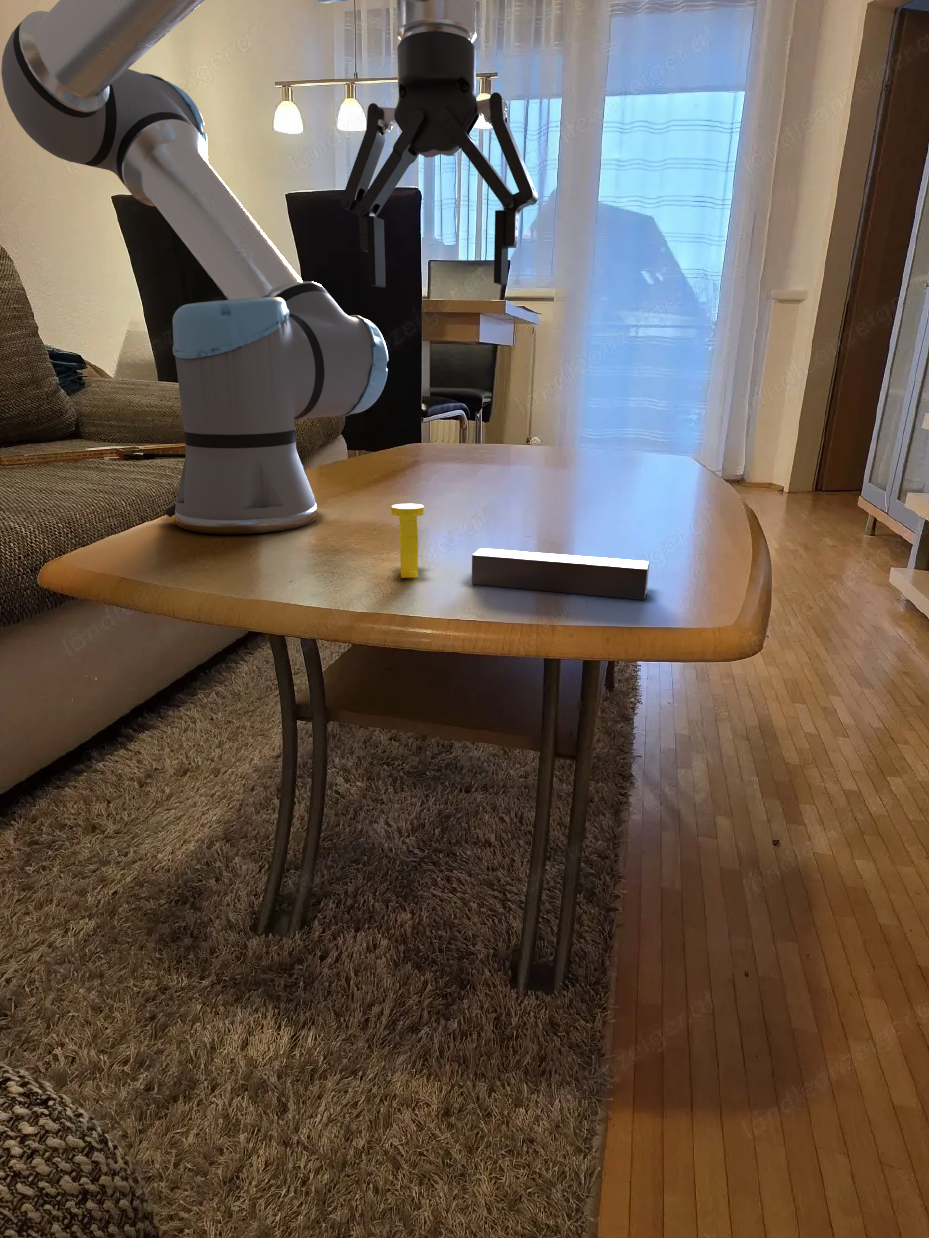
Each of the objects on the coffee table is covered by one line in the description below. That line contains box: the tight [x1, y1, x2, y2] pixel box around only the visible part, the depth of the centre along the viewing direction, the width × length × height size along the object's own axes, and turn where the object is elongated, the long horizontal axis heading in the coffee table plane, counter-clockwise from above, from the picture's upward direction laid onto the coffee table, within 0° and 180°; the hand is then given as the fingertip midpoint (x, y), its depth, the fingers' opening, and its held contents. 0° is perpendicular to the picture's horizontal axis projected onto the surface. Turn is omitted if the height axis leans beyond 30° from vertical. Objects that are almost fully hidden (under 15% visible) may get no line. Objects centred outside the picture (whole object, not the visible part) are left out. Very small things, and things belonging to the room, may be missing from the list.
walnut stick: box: [471, 547, 650, 601], centre depth 61 cm, size 14×2×2 cm, turn 73°
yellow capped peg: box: [390, 503, 425, 579], centre depth 64 cm, size 6×3×6 cm, turn 5°
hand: (437, 285), depth 79 cm, fingers open, 13 cm apart
